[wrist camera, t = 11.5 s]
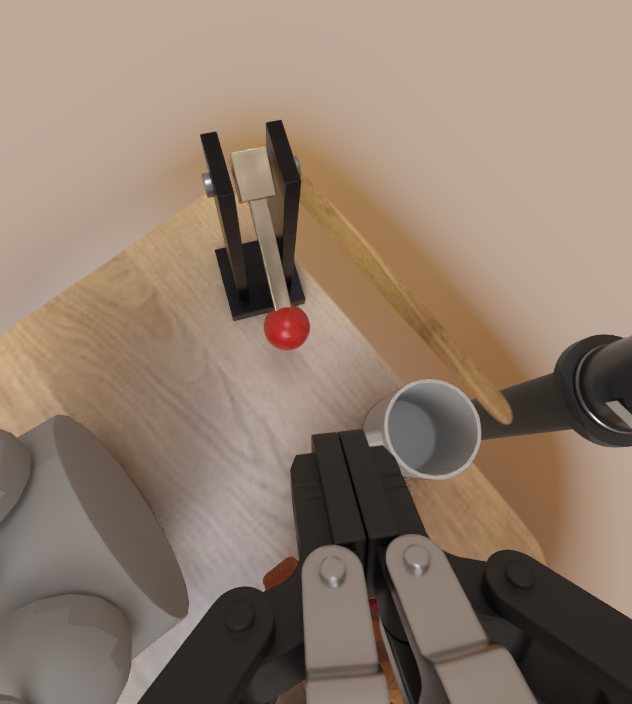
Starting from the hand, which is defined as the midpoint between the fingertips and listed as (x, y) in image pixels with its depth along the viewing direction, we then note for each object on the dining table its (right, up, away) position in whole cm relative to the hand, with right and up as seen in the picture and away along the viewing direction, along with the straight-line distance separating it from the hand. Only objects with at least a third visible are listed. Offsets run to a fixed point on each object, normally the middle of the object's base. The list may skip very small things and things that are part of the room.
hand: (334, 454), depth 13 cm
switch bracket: (-6, +10, +30) cm, 32 cm away
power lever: (-4, +10, +18) cm, 21 cm away
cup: (+6, -5, +28) cm, 29 cm away
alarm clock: (-17, -12, +24) cm, 31 cm away
